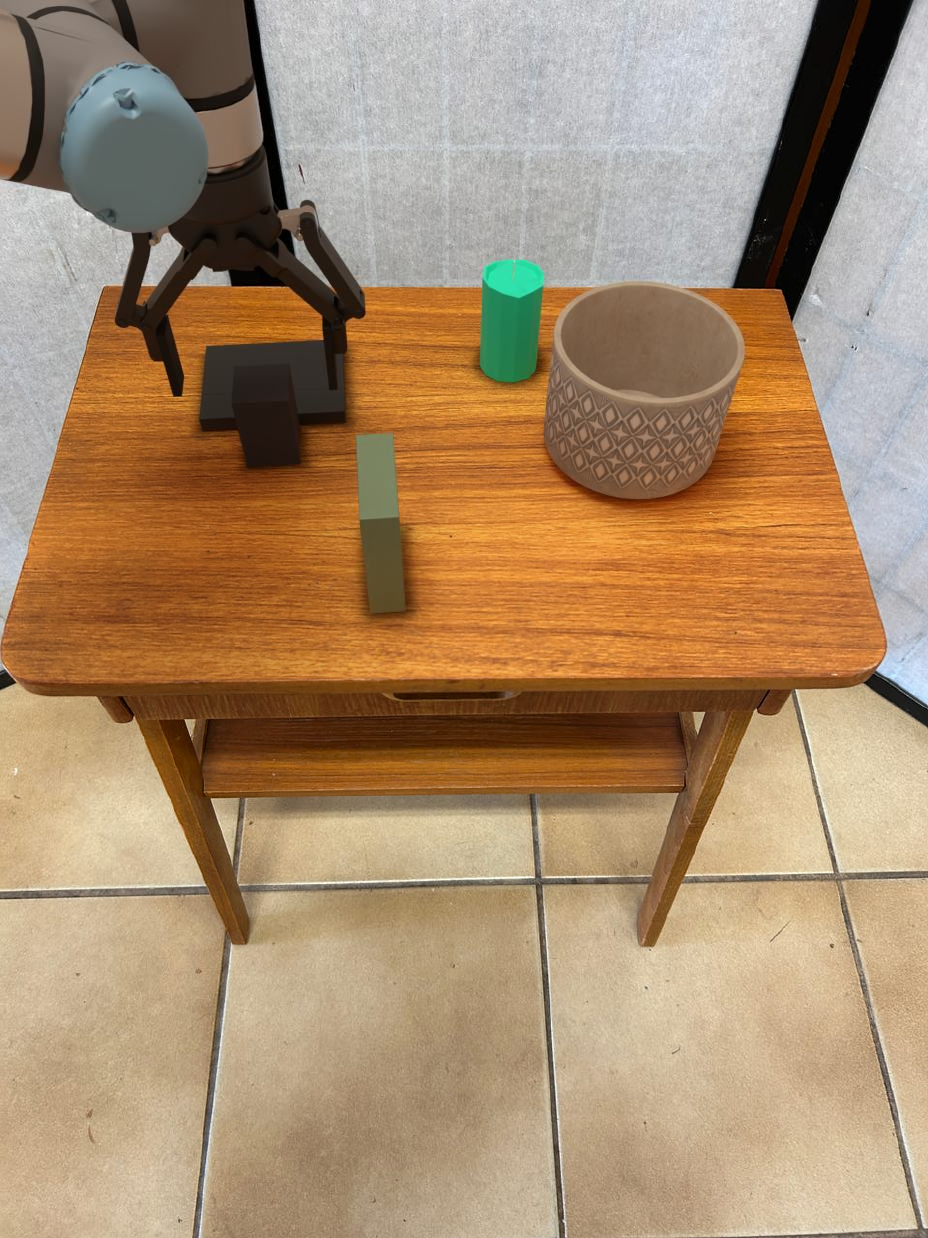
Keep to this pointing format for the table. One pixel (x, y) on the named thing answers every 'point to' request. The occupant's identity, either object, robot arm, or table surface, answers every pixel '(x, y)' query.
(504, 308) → the candle
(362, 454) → the stand
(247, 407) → the black rectangular block
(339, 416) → the pad
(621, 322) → the planter
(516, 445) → the table surface
